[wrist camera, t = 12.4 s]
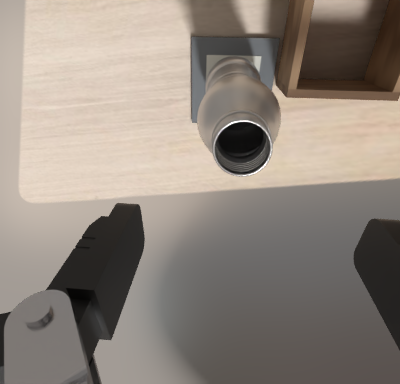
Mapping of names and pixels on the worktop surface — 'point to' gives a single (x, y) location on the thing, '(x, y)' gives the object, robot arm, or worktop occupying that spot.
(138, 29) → the worktop surface
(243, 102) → the plastic bottle
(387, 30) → the crate
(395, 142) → the worktop surface
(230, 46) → the mat
